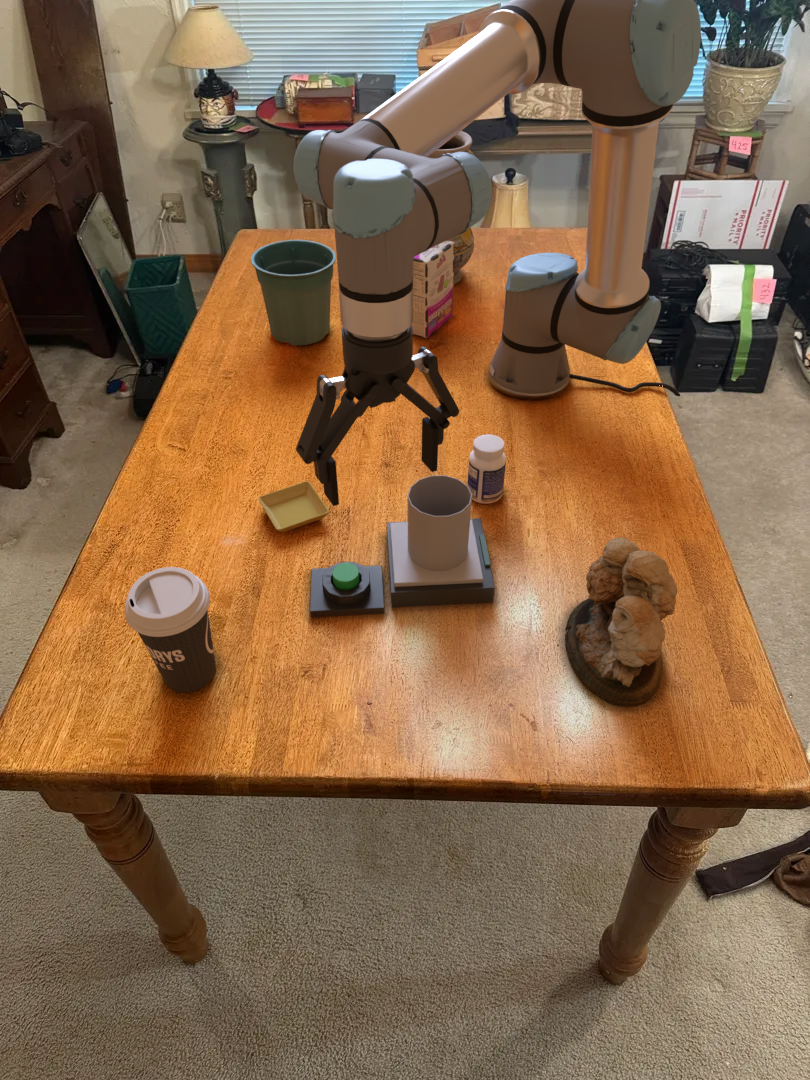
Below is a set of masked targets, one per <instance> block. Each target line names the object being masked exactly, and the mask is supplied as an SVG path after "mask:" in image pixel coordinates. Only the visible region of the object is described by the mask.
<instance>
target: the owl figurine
mask: <svg viewBox="0 0 810 1080" xmlns="http://www.w3.org/2000/svg"><path fill="white" fill-rule="evenodd" d="M588 568H589V570H588V571H587V573H586V575H585V580H586V590H587V593H588V594H589V595H588V598H586V599H585V600H583V601H581V602H580V603H578V605H576V607H574V609H573V610H572V611H571V612H570V615H569V617H568V618H567V621H566V625H565V631H564V632H566V633H565V634H564V644H565V651H566V654H567V657H568V660H569V663H570V665H571V667H572V669H573V672H574V673H575V674H576V676H577V677H578V678H579V680H580V681H581V683H582V684H583V686H585V687H586V688H587V689H588V690H589V691H590V692H591V693H593V695H596V696H598V697H600V698H602V699H603V700H604V701H605V702H607V703H608V704H611V705H614V706H621V707H634V706H635V707H637V706H640V705H643V704H646V703H647V702H649V700H651V699H652V698H653V697H654V696H655V694H656V693H657V691H658V689H659V688H660V685H661V681H662V676H663V668H664V667H663V658H662V657H663V656H662V652H661V651H662V649H663V642H664V641H665V639H666V629H665V627H664V623H663V622H662V621H663V619H665V618H667V617H668V616H671V615H673V614H674V613H675V606H676V604H677V599H676V597H677V595H678V592H679V591H678V586H677V584H676V582H675V579H674V577H673V575H672V574H671V573H670V568H669V566H668V564H667V561H666V560H665V559H664V558H662V557H660V556H659V555H658V554H657V553H656V552H654V551H650V550H649V551H648V550H643V549H640V547H639V545H637V544H636V543H635V542H633V541H631V540H630V539H628V538H626V537H622V536H618V537H614V538H611V539H609V540H608V542H607V543H606V544H605V545H604V547H603V549H602V555H600V556H599V557H598V558H597V559H596V560H594V561H593V562H592V563H591V564H590V565H589V567H588Z"/></svg>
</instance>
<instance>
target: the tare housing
mask: <svg viewBox="0 0 810 1080" xmlns="http://www.w3.org/2000/svg"><path fill="white" fill-rule="evenodd" d="M342 563H351V564H354V565H355V566H356V567H357V568H358V570H359V584H358V585H357V586H356V587H355V588H353V589H351V590H340V589H338V588H336V587H335V585H334V583H333V575H332V572H333V569H334V568H335V567H336V566H337V565H339V564H342ZM383 576H384V575H383V565H363V564H360V563H358V562H355V561H340V562H337V563H335V564H333V565H330V566H329V567H318V568H317V567H316V568H311V570H310V597H309V616H310V618H318V617H341V616H357V615H358V616H359V615H360V616H361V615H379V614H385V596H384V595H385V593H384V580H383V578H384V577H383Z"/></svg>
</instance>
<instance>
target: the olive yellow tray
mask: <svg viewBox="0 0 810 1080" xmlns="http://www.w3.org/2000/svg"><path fill="white" fill-rule="evenodd" d="M258 501H259V503H260V504H261V506H262V508H263V510H264V511H265V513H266V514H267V516H268V518H269V520H270V521H271V524H272V526H273V527H274V529H275V530H276V531H277V532H280V533H286V532H289V531H291V530H294V529H297V528H300V527H303V526H306V525H308V524H311V523H314V522H316V521H319V520H322V519H324V518H325V517H327V515H328V514H330V510H329V508H328V506H327V505H326V503H325V502H324V500H323V499H322V498H321V496H320V494H319V493H318V491H317V490H316V489H315V487H314V486H313V484H312V483H311V482H310V481H307V480H305V481H301V482H299V483H296V484H293V485H290V486H287V487H284V488H281V489H277V490H275V491H271V492H269V493H266V494H263V495H259V497H258Z"/></svg>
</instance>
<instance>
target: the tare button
mask: <svg viewBox="0 0 810 1080" xmlns="http://www.w3.org/2000/svg"><path fill="white" fill-rule="evenodd" d="M332 575H333V583H334V585H335V587H336V588H338V589H340V590H351V589H353V588H355V587H356V586H357V585H358V584H359V570H358V568H357V567H356V566H355V565H354V564H351V563H342V564H339V565H337V566H336V567H335V568H334V569H333V572H332Z"/></svg>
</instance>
